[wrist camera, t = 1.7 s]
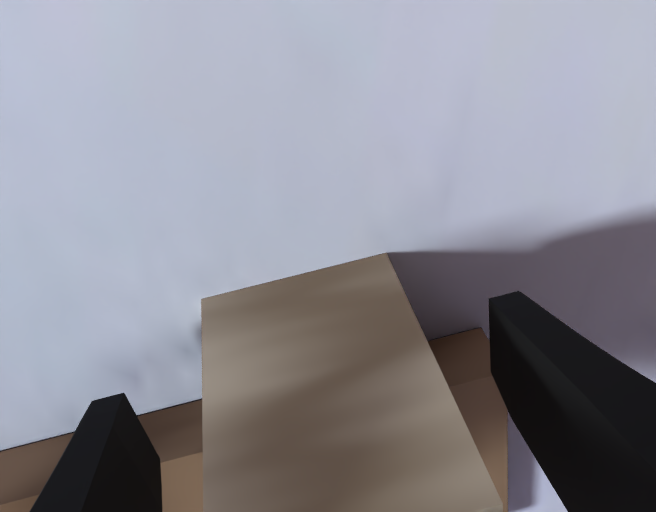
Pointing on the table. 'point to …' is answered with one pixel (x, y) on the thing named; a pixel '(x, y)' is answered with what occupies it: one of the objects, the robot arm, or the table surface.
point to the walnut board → (187, 439)
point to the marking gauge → (331, 401)
